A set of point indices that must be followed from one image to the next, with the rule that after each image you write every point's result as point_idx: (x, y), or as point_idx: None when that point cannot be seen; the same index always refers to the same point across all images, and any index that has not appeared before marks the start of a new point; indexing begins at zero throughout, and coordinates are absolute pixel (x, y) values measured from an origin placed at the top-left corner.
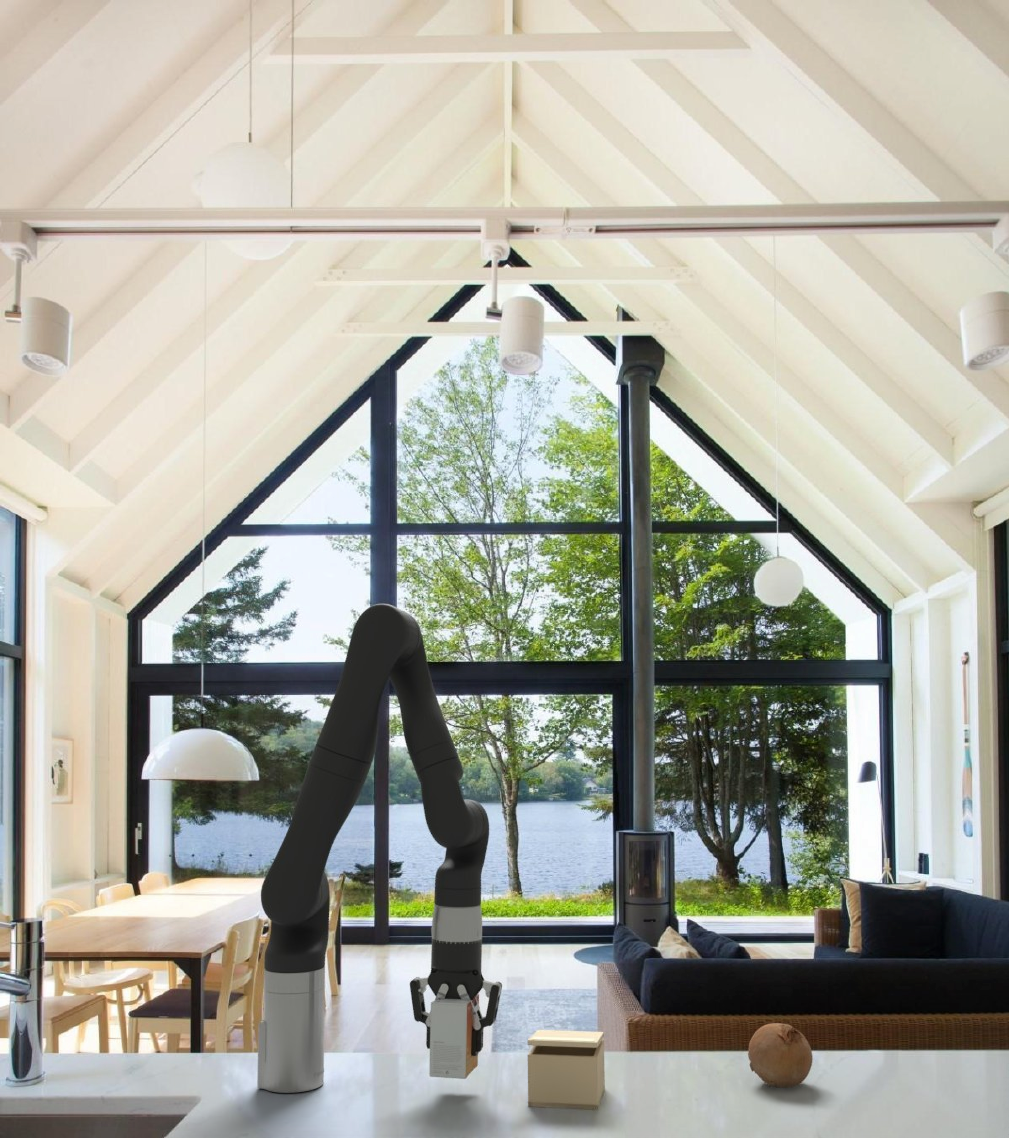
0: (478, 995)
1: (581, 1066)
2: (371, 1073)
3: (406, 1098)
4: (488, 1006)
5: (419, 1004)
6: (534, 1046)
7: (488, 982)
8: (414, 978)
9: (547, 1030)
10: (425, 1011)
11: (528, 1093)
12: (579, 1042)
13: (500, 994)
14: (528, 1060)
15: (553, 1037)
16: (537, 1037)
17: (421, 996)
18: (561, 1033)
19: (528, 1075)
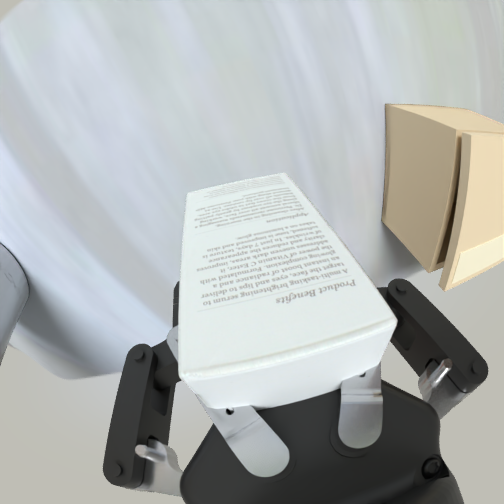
0: (393, 328)
1: None
2: (13, 163)
3: (163, 259)
4: (409, 361)
5: (168, 419)
6: (447, 215)
7: (445, 414)
8: (128, 488)
9: (485, 143)
10: (152, 365)
11: (392, 231)
12: (500, 261)
13: (466, 342)
14: (423, 265)
15: (484, 246)
16: (463, 261)
17: (155, 430)
18: (501, 182)
19: (408, 249)
